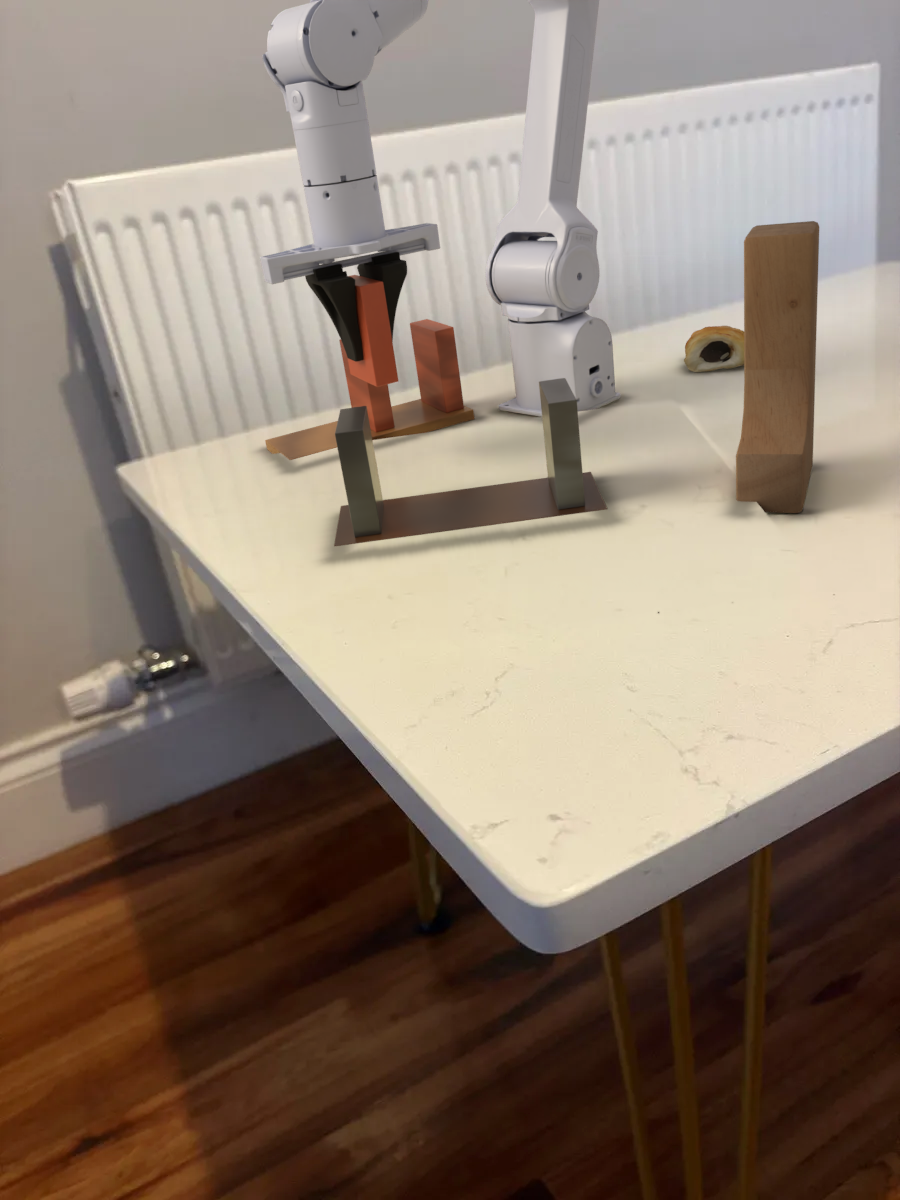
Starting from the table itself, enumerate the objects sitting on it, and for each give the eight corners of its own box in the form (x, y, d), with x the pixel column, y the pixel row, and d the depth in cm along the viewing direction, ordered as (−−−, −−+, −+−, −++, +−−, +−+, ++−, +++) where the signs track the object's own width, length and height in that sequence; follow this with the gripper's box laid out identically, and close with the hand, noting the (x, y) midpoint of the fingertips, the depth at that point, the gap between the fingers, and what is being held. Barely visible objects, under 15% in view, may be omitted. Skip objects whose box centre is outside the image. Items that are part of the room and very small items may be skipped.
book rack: (440, 403, 107) (427, 316, 103) (474, 419, 100) (463, 327, 96) (266, 449, 101) (246, 359, 97) (292, 470, 94) (271, 373, 90)
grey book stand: (591, 483, 81) (583, 371, 77) (608, 521, 74) (600, 400, 70) (342, 517, 82) (321, 408, 78) (335, 558, 75) (312, 440, 71)
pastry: (688, 350, 112) (688, 314, 111) (752, 346, 111) (753, 310, 109) (683, 374, 105) (682, 336, 103) (752, 370, 103) (753, 332, 101)
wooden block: (802, 515, 71) (809, 243, 63) (735, 513, 72) (733, 249, 64) (812, 468, 78) (820, 219, 70) (751, 467, 80) (751, 225, 72)
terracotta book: (371, 369, 89) (355, 274, 85) (399, 381, 84) (383, 281, 80) (350, 374, 88) (333, 279, 84) (376, 387, 83) (359, 286, 80)
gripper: (265, 198, 73) (303, 384, 79) (446, 165, 78) (468, 343, 84) (239, 195, 79) (275, 369, 85) (408, 165, 84) (432, 331, 90)
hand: (369, 355), depth 85 cm, fingers closed on terracotta book, 2 cm apart
